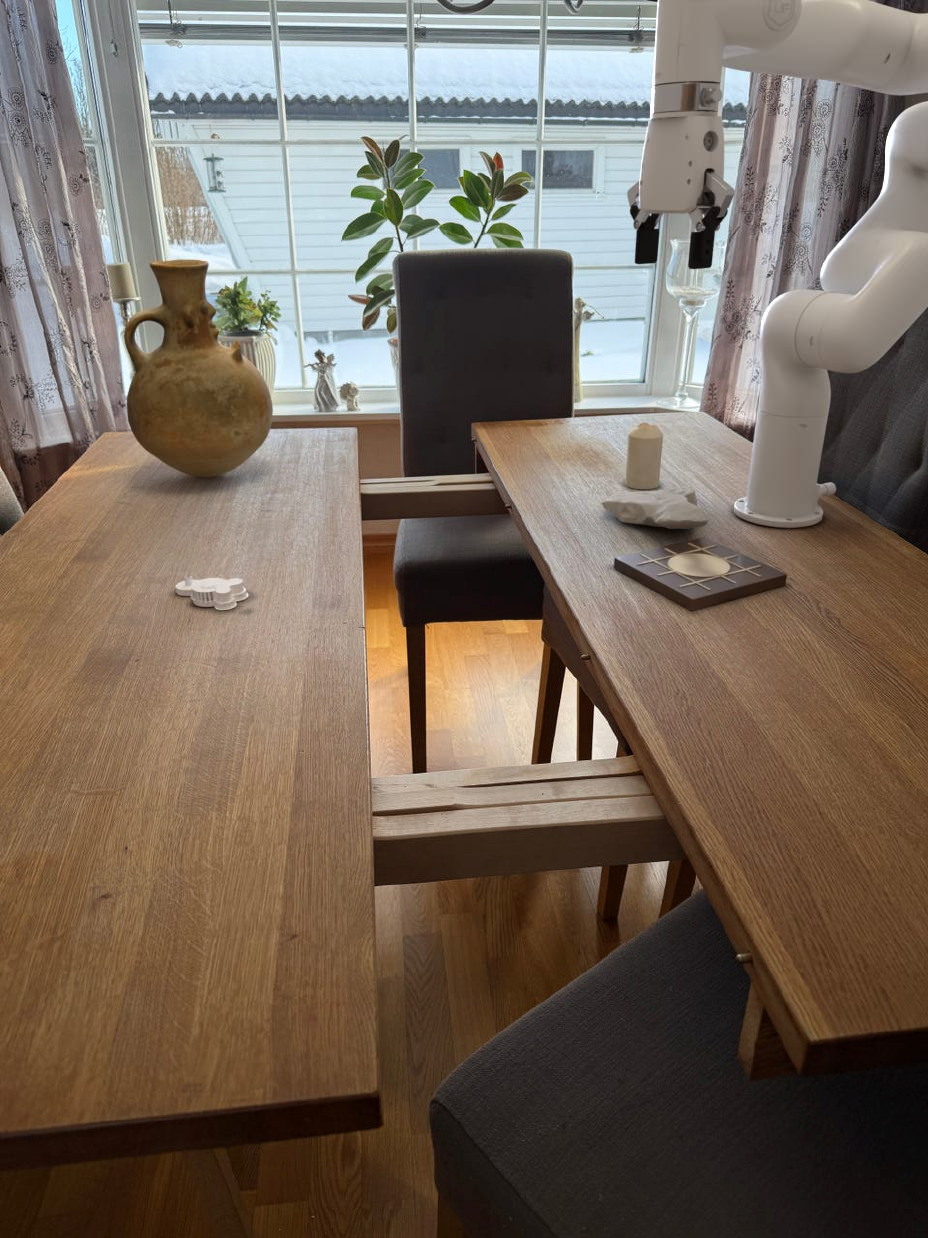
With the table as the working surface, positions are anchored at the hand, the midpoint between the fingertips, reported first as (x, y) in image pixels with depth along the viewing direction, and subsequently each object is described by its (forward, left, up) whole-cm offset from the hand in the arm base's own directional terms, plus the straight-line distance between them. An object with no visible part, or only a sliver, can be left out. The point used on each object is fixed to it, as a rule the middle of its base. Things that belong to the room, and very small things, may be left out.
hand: (671, 265), depth 108 cm
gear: (+58, -11, -36) cm, 69 cm away
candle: (-15, -21, -36) cm, 44 cm away
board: (+3, +13, -36) cm, 38 cm away
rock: (-5, -6, -36) cm, 37 cm away
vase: (+46, -64, -36) cm, 86 cm away
